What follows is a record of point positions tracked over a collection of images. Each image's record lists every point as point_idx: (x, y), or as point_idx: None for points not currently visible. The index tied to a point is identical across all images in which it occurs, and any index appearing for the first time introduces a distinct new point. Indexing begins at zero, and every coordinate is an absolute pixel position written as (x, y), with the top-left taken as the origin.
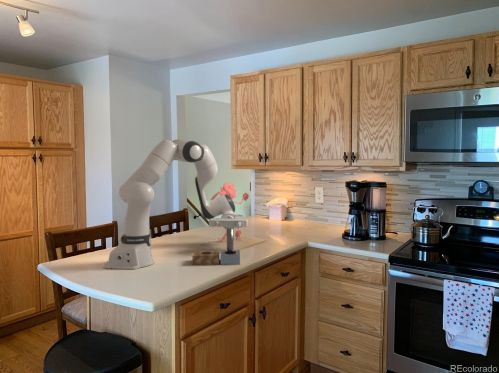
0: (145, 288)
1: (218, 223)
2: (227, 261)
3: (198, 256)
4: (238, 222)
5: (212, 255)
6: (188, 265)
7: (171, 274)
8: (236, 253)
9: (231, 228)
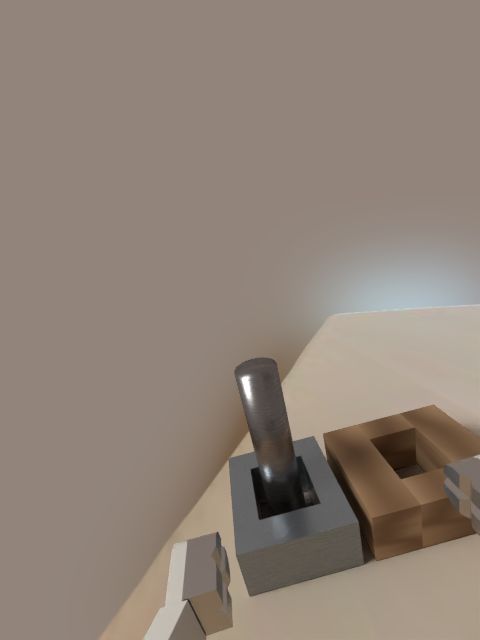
0: (388, 325)
1: (470, 458)
2: None
3: (408, 414)
4: (171, 623)
5: (348, 427)
6: None
7: (413, 368)
8: (246, 473)
9: (246, 373)
